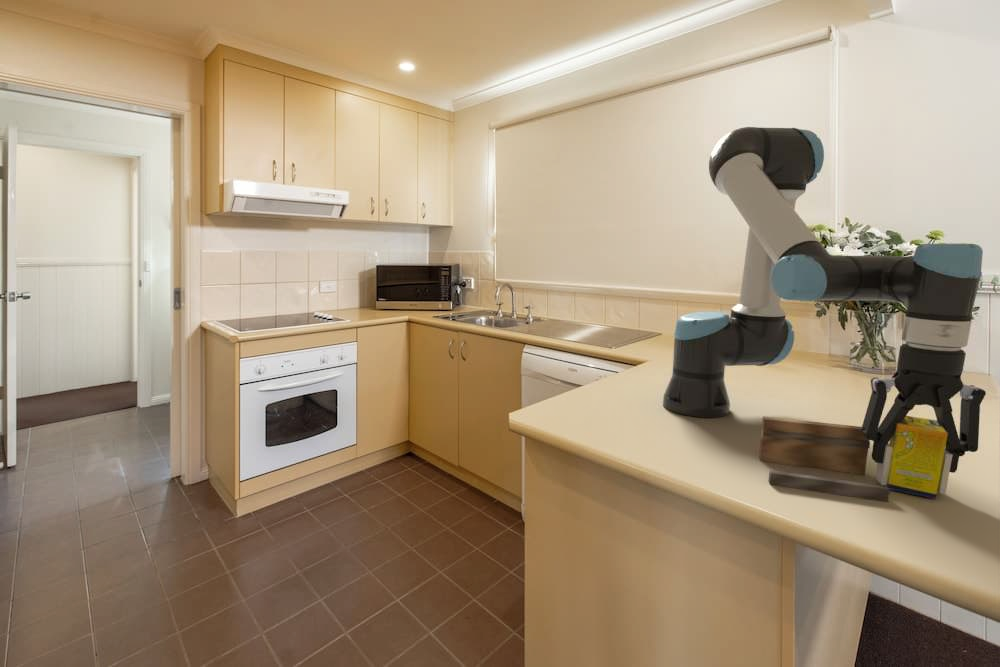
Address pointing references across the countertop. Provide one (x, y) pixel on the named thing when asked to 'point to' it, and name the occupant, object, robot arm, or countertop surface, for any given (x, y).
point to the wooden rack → (818, 456)
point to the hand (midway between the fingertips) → (909, 485)
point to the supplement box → (917, 456)
